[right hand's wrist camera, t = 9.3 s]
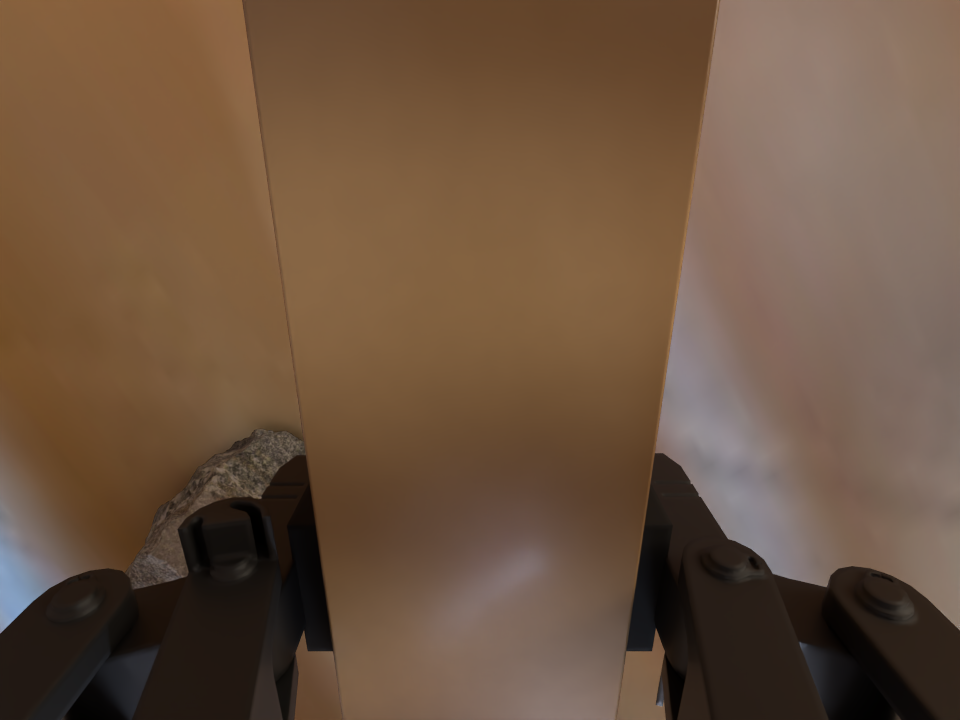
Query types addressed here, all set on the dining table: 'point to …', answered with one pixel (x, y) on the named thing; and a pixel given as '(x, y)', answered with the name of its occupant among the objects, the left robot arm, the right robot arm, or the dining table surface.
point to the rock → (210, 499)
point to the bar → (480, 327)
